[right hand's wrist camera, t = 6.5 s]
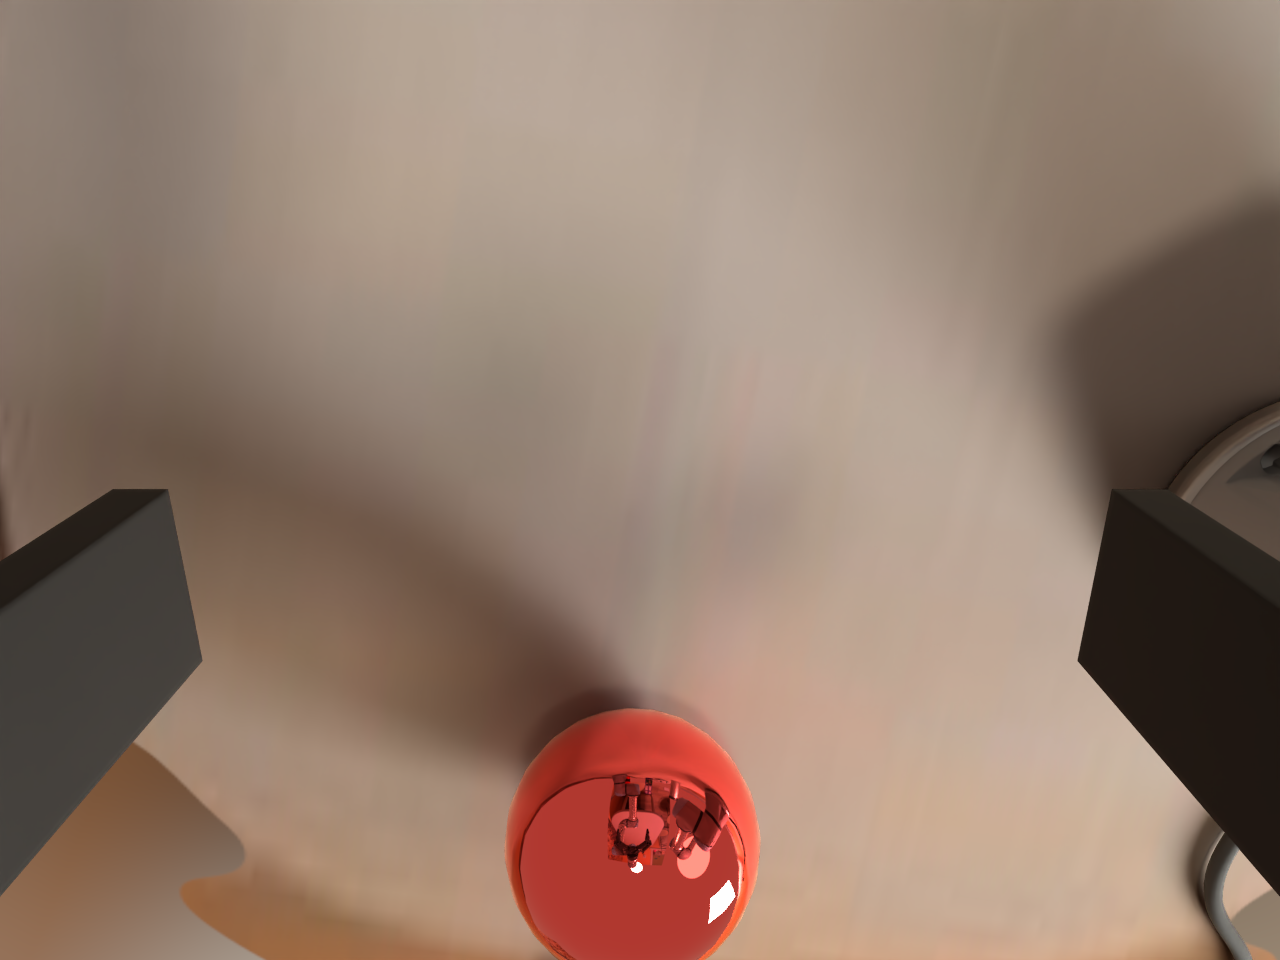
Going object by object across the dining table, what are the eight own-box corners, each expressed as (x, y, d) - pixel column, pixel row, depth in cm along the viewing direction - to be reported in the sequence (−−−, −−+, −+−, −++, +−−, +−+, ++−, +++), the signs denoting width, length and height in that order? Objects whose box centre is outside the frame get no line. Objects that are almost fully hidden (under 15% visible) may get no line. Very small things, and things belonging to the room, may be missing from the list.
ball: (651, 878, 50) (654, 1088, 39) (478, 772, 48) (428, 964, 36) (791, 741, 47) (839, 928, 36) (614, 619, 44) (605, 778, 33)
